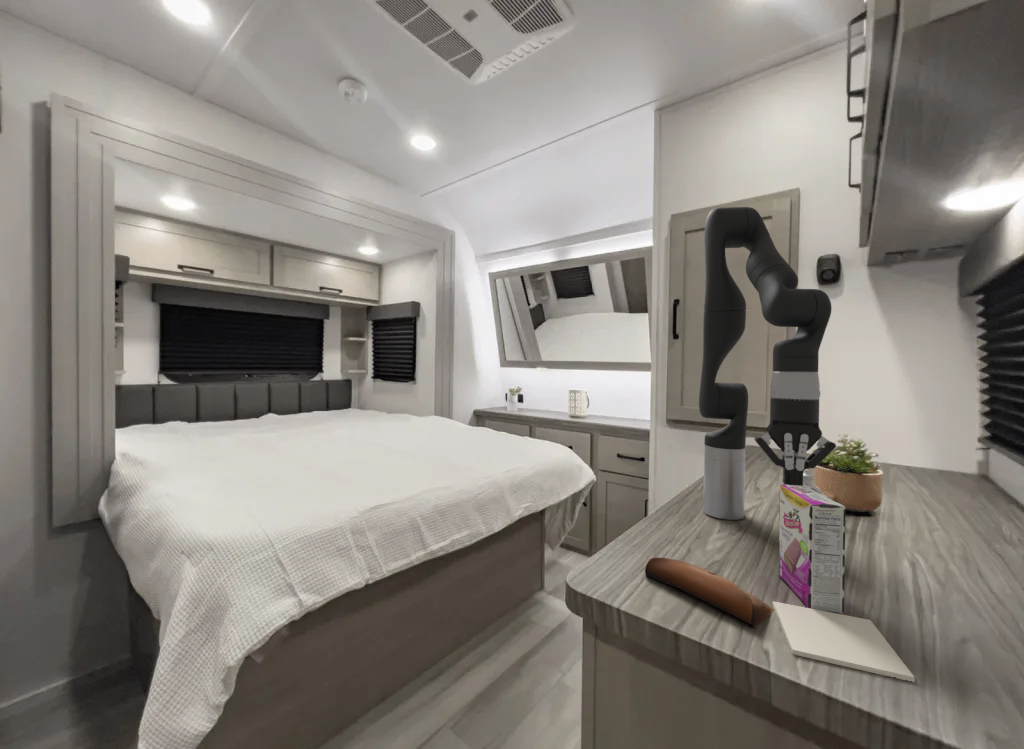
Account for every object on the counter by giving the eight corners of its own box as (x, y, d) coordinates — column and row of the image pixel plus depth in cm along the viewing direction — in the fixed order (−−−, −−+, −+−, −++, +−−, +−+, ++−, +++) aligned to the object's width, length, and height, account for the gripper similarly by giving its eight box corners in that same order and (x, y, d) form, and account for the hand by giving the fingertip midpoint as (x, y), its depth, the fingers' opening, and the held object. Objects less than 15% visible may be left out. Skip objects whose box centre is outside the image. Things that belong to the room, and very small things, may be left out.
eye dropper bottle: (812, 522, 100) (814, 473, 99) (788, 515, 105) (789, 467, 104) (823, 520, 101) (824, 471, 101) (799, 512, 106) (800, 466, 106)
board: (772, 605, 64) (772, 601, 64) (870, 624, 59) (870, 620, 59) (792, 654, 52) (792, 649, 52) (914, 682, 48) (914, 677, 48)
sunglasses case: (779, 609, 62) (770, 577, 60) (760, 648, 59) (750, 616, 57) (671, 563, 77) (661, 536, 75) (651, 592, 73) (640, 565, 71)
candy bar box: (776, 576, 73) (778, 483, 73) (807, 579, 72) (809, 485, 72) (807, 612, 62) (810, 502, 62) (845, 616, 61) (848, 505, 61)
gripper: (830, 396, 78) (828, 488, 78) (750, 394, 83) (748, 480, 83) (845, 398, 71) (843, 499, 71) (757, 396, 76) (755, 490, 76)
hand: (792, 489), depth 77 cm, fingers closed
